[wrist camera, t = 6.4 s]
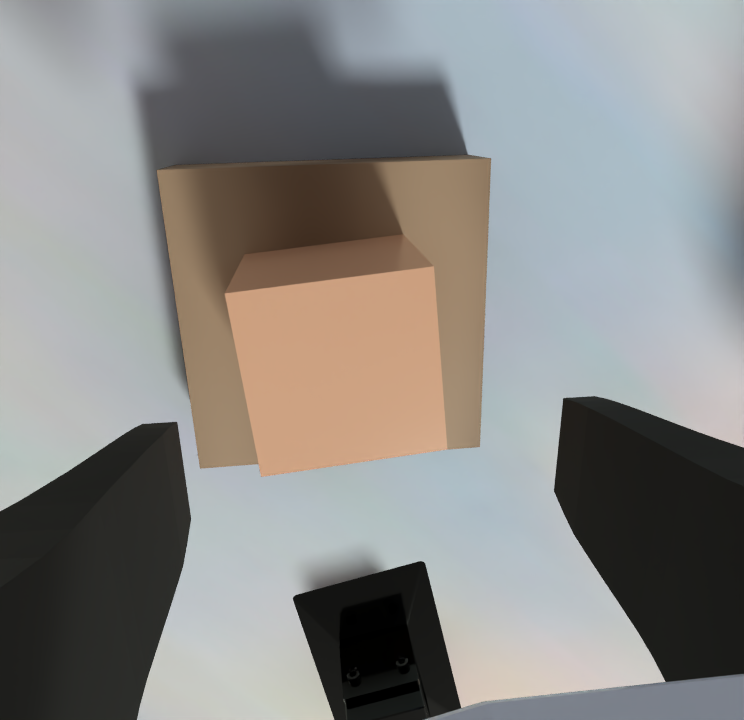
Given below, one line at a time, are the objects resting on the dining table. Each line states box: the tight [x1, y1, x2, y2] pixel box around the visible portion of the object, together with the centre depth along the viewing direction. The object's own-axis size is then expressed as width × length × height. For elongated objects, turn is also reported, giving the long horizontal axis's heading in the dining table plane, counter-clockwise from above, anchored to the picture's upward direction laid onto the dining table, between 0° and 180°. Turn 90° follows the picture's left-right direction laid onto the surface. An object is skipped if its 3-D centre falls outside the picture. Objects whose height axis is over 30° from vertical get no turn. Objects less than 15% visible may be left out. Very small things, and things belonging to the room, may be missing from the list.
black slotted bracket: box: [293, 561, 461, 720], centre depth 25 cm, size 12×7×5 cm, turn 13°
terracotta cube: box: [225, 234, 447, 477], centre depth 16 cm, size 4×4×4 cm
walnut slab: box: [157, 155, 491, 468], centre depth 20 cm, size 9×9×3 cm
